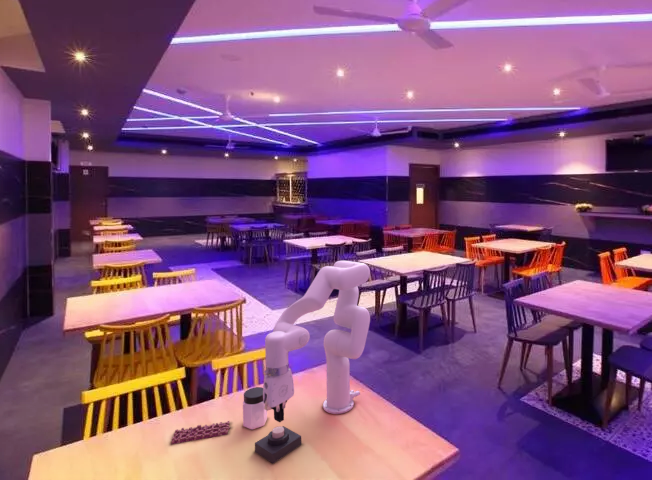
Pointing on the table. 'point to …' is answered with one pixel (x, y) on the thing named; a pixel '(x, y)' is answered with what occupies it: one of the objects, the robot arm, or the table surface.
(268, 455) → the black push button
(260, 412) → the jar
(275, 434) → the pink short cylinder
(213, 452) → the table surface
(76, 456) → the table surface
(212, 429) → the chocolate bar
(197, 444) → the table surface
